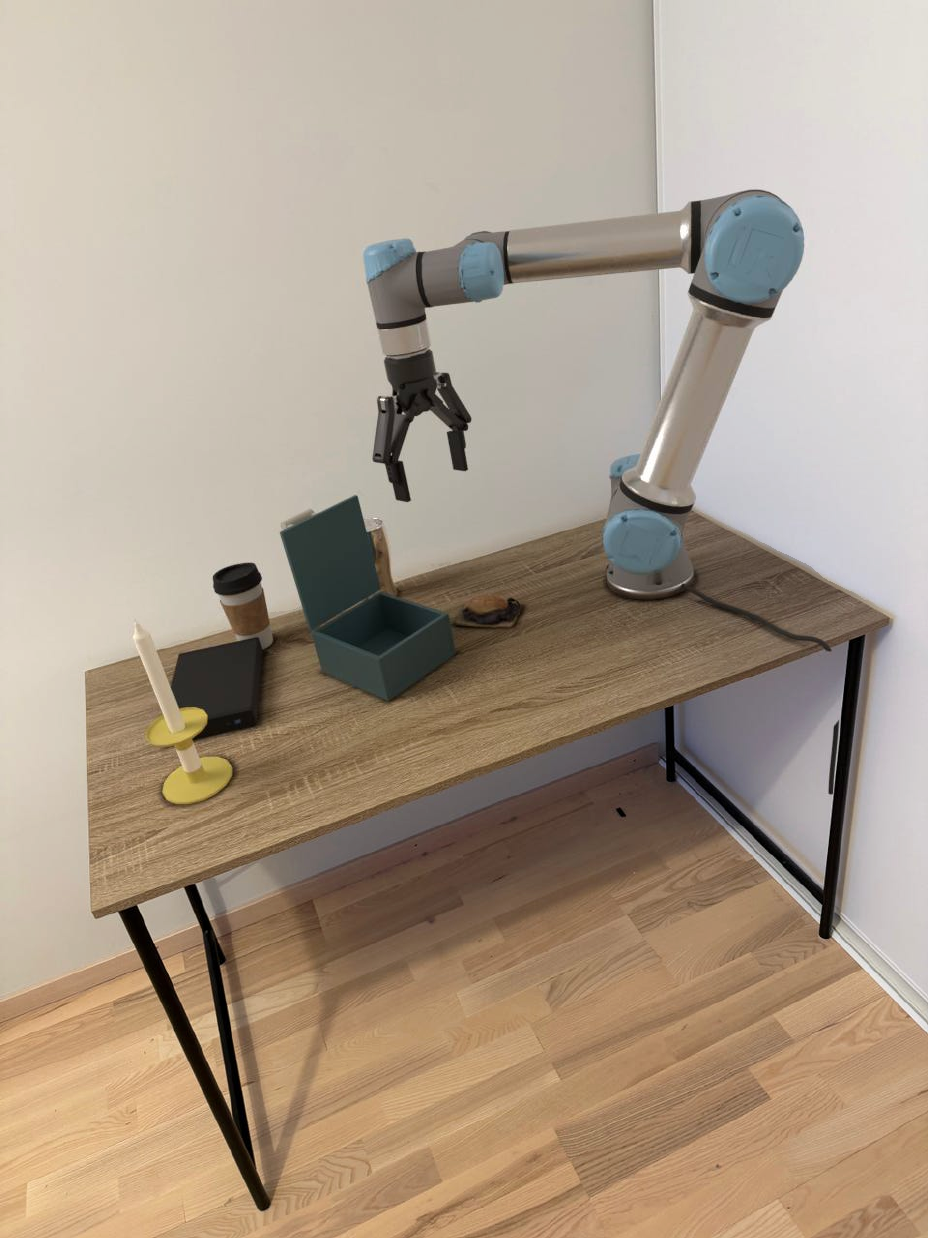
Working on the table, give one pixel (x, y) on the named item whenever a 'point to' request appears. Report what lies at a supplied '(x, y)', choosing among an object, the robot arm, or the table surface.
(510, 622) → the bread roll
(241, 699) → the external hard drive
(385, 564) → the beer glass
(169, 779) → the candle
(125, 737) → the table surface
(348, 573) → the bread box lid
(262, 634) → the coffee cup
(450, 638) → the bread box
